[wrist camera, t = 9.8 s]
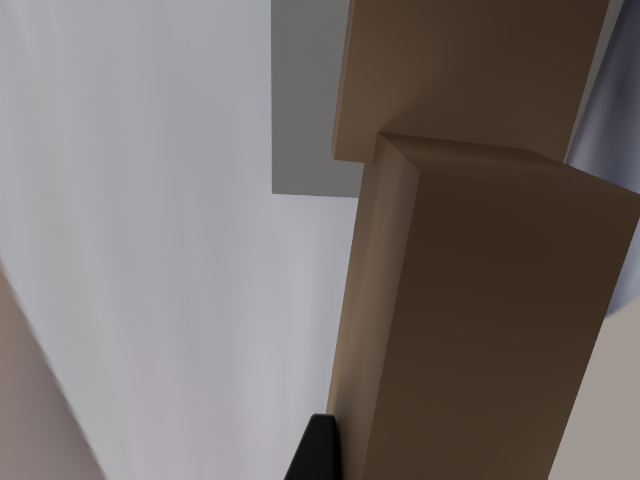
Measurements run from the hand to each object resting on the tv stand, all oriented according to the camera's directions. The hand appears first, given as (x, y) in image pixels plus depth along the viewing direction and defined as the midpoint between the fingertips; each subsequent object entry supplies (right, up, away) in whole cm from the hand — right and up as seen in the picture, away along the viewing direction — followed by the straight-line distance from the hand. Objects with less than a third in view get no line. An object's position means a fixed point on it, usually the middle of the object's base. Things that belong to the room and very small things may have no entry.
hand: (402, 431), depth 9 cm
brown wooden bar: (0, +1, +1) cm, 1 cm away
